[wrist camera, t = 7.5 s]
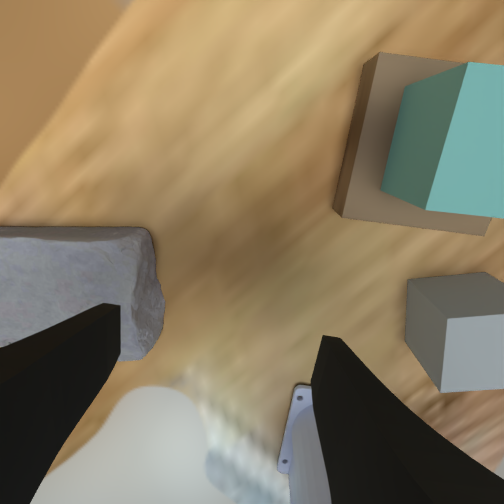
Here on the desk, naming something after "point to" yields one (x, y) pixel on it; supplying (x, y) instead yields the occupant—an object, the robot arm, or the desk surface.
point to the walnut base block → (388, 149)
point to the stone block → (79, 281)
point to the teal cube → (451, 142)
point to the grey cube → (458, 330)
